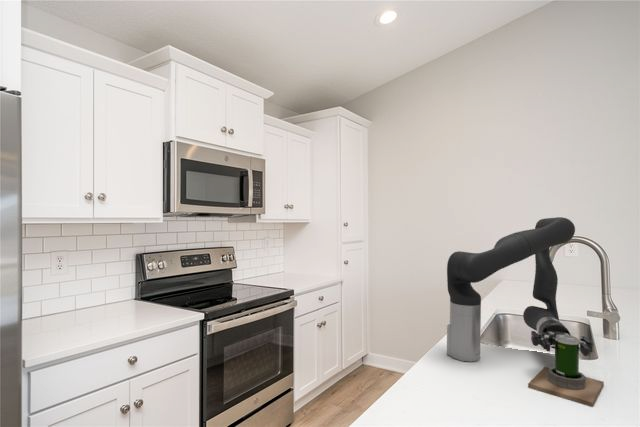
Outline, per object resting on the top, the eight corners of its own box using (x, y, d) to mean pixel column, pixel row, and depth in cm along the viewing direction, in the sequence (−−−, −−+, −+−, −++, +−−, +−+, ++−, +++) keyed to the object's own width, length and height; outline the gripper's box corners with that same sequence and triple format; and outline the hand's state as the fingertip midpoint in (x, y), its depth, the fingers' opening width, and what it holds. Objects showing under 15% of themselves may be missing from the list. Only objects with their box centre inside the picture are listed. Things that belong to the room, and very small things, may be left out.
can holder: (528, 387, 100) (528, 374, 100) (544, 369, 112) (544, 357, 112) (592, 406, 91) (592, 392, 91) (603, 385, 102) (603, 372, 102)
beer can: (572, 388, 98) (573, 342, 98) (550, 380, 102) (551, 336, 102) (582, 383, 101) (582, 338, 101) (560, 376, 105) (560, 332, 105)
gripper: (526, 317, 118) (537, 332, 103) (580, 322, 113) (599, 339, 98) (525, 341, 118) (536, 360, 103) (579, 347, 114) (599, 368, 98)
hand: (567, 349), depth 101 cm, fingers open, 8 cm apart
